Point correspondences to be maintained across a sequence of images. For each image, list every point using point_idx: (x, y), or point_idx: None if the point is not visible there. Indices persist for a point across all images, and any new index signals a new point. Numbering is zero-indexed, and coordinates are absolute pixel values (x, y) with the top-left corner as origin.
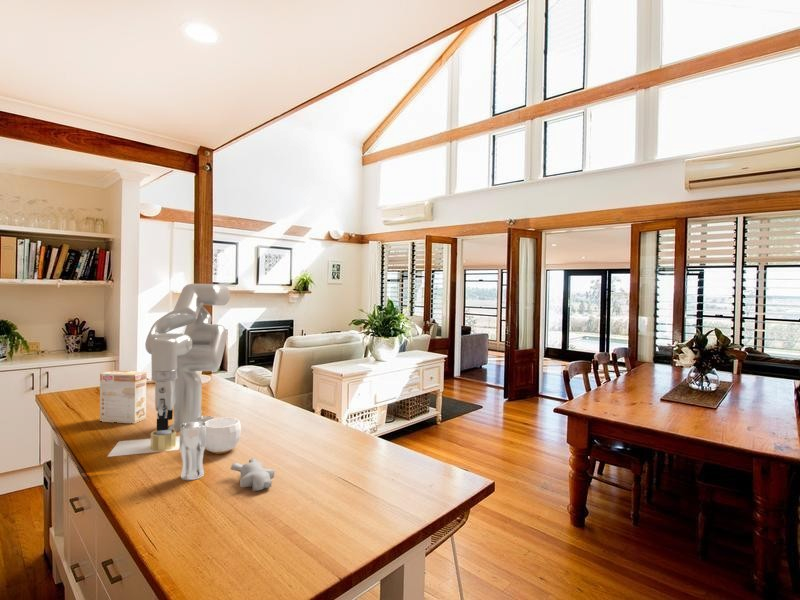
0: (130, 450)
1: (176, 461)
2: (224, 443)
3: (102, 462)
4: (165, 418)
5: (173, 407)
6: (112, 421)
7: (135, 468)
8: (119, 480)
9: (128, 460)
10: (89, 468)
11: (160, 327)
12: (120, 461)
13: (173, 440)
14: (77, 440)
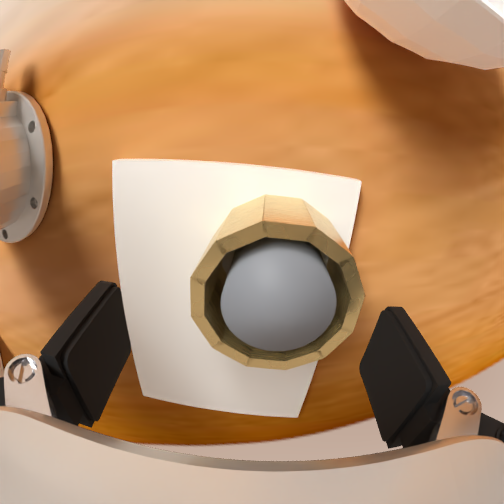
0: (264, 374)
1: (454, 196)
2: (500, 3)
3: (313, 413)
4: (462, 396)
5: (384, 462)
6: (2, 369)
7: (431, 331)
8: (477, 349)
9: (341, 363)
10: (344, 425)
11: None
12: (335, 380)
13: (320, 220)
14: (110, 435)
